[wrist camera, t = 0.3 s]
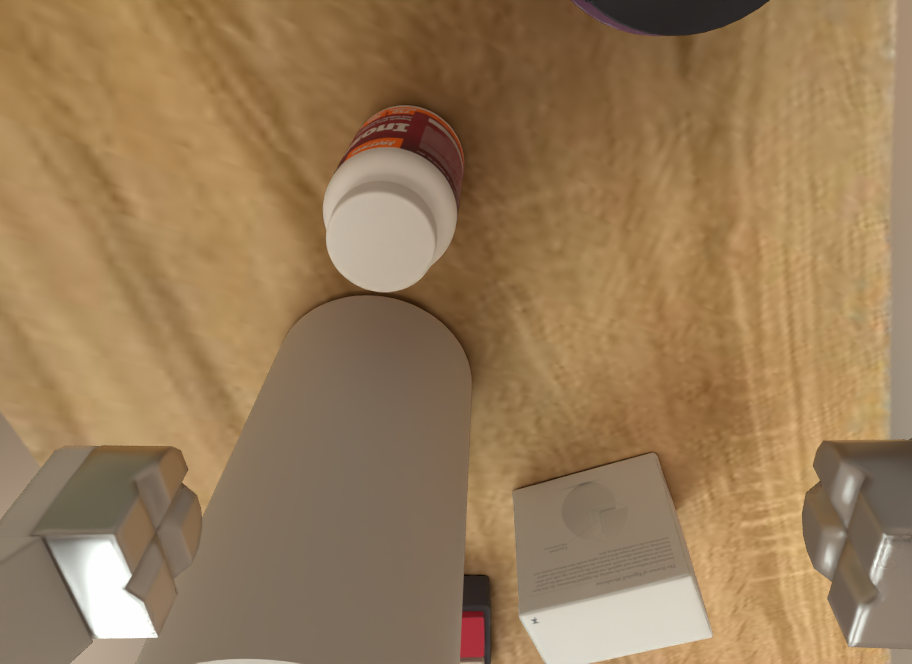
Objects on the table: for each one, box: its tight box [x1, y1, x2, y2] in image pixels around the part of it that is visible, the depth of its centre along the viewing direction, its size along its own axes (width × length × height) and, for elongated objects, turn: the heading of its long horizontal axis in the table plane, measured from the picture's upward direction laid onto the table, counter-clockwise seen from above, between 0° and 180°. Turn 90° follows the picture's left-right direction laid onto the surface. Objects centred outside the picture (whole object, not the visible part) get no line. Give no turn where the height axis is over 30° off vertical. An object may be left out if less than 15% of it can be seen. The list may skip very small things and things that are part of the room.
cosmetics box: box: [513, 452, 713, 664], centre depth 49 cm, size 10×6×10 cm, turn 112°
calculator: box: [460, 576, 491, 664], centre depth 59 cm, size 11×4×15 cm
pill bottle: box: [323, 105, 464, 292], centre depth 36 cm, size 6×6×11 cm
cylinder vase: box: [135, 295, 472, 664], centre depth 38 cm, size 12×12×25 cm
